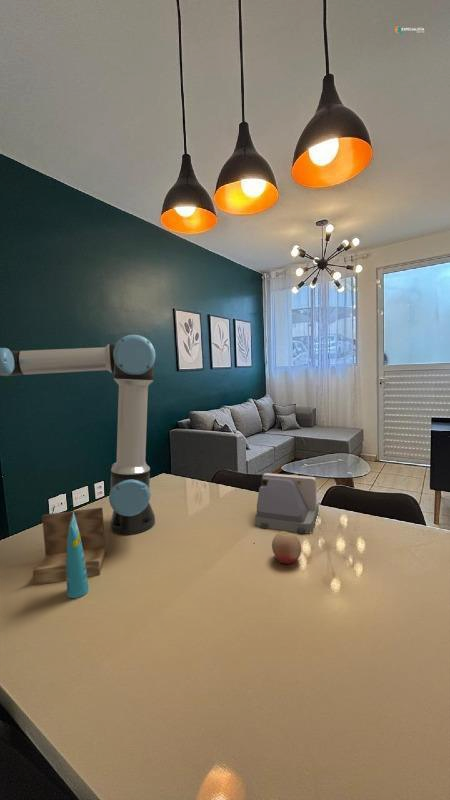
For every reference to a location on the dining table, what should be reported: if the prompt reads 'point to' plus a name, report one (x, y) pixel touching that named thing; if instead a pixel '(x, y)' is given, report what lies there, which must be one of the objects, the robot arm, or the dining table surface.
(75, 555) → the tube
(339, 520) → the dining table surface
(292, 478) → the instant camera
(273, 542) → the fruit
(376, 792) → the dining table surface
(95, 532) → the brown piece
